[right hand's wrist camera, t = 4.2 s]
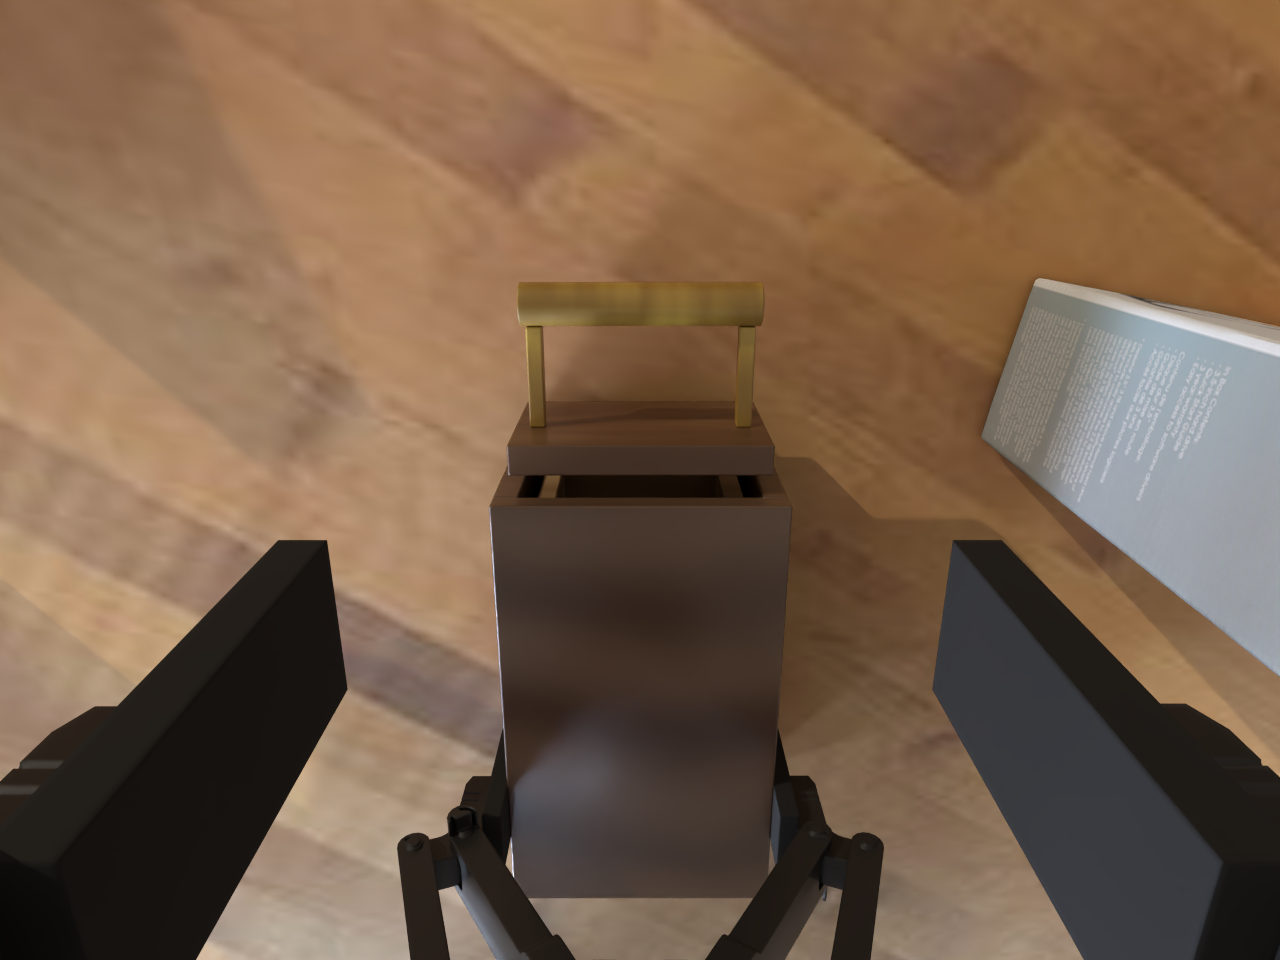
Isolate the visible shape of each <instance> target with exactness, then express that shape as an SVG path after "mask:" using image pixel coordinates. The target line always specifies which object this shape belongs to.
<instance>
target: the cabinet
mask: <svg viewBox="0 0 1280 960" xmlns="http://www.w3.org/2000/svg"><path fill="white" fill-rule="evenodd" d="M737 478H738V482H739V485H740V488H741V491H742V494H743V497H744V498H538V495H539V492H540V489H541V486H542V482H543V479H544V476H510V475H509V474H508V465H507V468H506V470H505V472H504V474H503V477H502V479H501V481H500V483H499V486H498V488H497V490H496V492H495V495H494V497H493V500H492V502H491V504H490V506H489V515H490V531H491V546H492V561H493V577H494V592H495V607H496V623H497V638H498V653H499V668H500V684H501V699H502V714H503V730H504V745H505V760H506V776H507V789H508V804H509V820H510V835H511V852H512V867H513V877H514V879H515V880H516V882H517V883H518V885H519V886H520V888H521V889H522V891H523V892H524V894H525V895H526V897H527V898H754V897H755V895H756V894H757V892H758V891H759V889H760V888H761V886H762V885H763V883H764V882H765V880H766V879H767V877H768V867H769V852H770V834H771V819H772V804H773V789H774V776H775V761H776V746H777V731H778V716H779V701H780V686H781V671H782V655H783V640H784V625H785V610H786V595H787V580H788V565H789V550H790V535H791V519H792V506H791V503H790V501H789V499H788V497H787V495H786V493H785V490H784V488H783V486H782V484H781V482H780V479H779V477H778V475H777V473H776V470H775V468H773V475H771V476H737Z"/></svg>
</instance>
